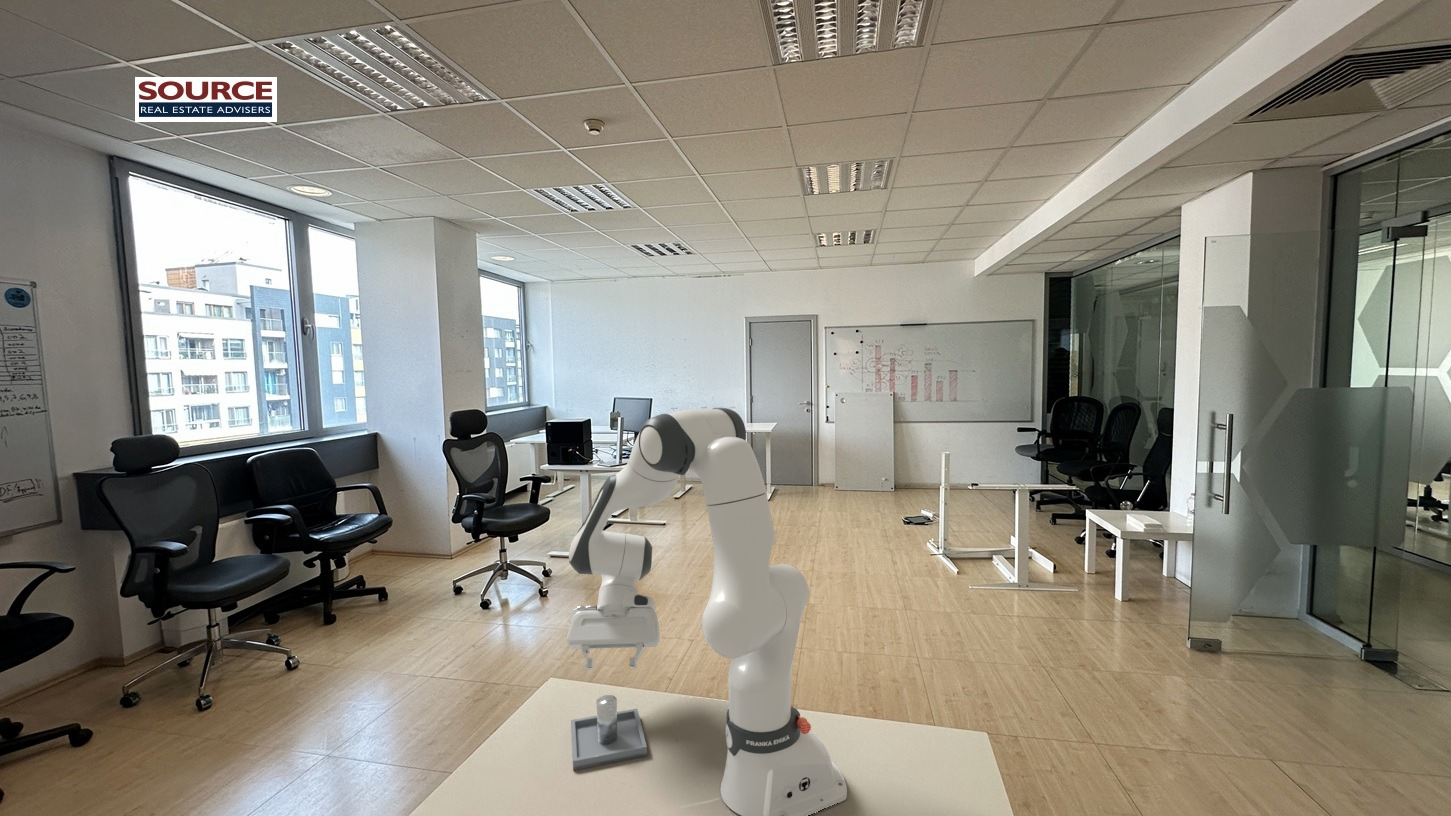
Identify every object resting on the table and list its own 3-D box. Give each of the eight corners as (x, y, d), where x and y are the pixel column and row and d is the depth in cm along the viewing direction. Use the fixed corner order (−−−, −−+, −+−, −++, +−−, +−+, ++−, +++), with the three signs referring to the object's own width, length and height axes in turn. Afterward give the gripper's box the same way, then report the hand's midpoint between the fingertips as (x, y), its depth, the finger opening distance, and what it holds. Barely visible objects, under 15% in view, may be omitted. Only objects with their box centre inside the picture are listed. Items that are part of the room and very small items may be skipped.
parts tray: (637, 716, 125) (637, 708, 125) (647, 755, 112) (646, 746, 112) (571, 728, 121) (570, 720, 121) (573, 770, 108) (572, 761, 108)
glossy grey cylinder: (616, 731, 119) (615, 693, 119) (618, 742, 115) (617, 704, 115) (596, 734, 118) (595, 696, 118) (598, 746, 114) (597, 707, 114)
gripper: (568, 600, 130) (559, 664, 120) (659, 598, 130) (656, 661, 121) (574, 611, 134) (565, 674, 125) (661, 609, 135) (659, 671, 126)
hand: (611, 667), depth 123 cm, fingers open, 8 cm apart
